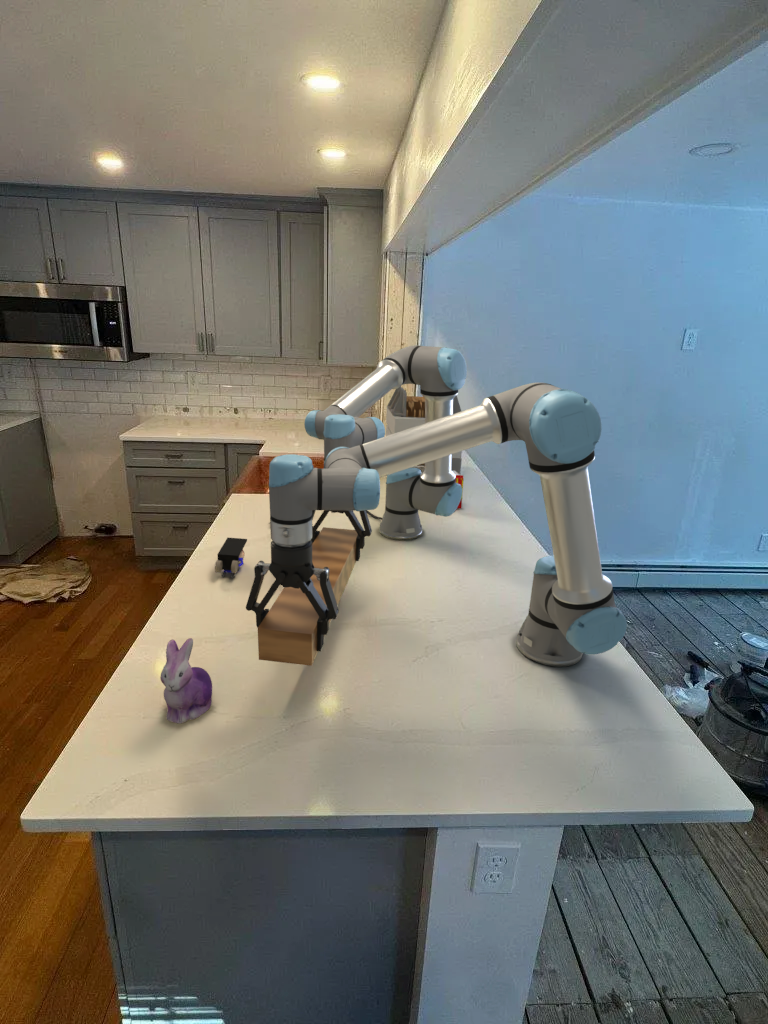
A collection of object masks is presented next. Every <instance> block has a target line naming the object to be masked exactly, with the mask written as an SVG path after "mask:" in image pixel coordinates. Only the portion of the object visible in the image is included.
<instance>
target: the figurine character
mask: <svg viewBox="0 0 768 1024" xmlns="http://www.w3.org/2000/svg"><path fill="white" fill-rule="evenodd" d="M247 542H248V538H240V537H226V539H225V541H224V543H223V544H222V546H221V547H220V549H219V551H218V552H217V560H216V562H215V564H214V572H215V573H221V577H222V578H224V577H225V576H226V574H227V573H230V574H231V573H232V574H231V578H234V577H235V575H236V573H237V572H239V571H240V567H242V566H243V565H244V564H245V562H244V558H245V551H244V547H245V546H246V544H247Z"/></svg>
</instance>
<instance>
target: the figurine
mask: <svg viewBox="0 0 768 1024" xmlns="http://www.w3.org/2000/svg"><path fill="white" fill-rule="evenodd" d="M193 646H194V639H193V638H192V637H188V639H186V640H185V641H184V643H183V644H182V645H181V646H180V648H179V646H178V643H177V642H176V640H175V639H172V638H171V640H169V641H168V642H167V644H166V649H165V657H166V658H165V659H166V661H165V664H164V666H163V668H162V670H161V672H160V676H159V679H160V682H161V683H162V684H163V685H164V686H165V688H164V689H163V699H164V701H165V704H166V707H167V710H166V711H167V712H166V716H165V717H166V720H167V721H168V722H171V723H176V724H184V723H186V722H187V721H190V720H196V719H197V718H199V717H200V716H202V715H203V714H205V713H206V712H207V711H208V710H210V709H211V706H212V700H213V699H212V696H213V682H212V678H211V676H210V674H209V673H208V671H207V670H206V669H204V668H203V667H199V666H191V664H190V658H191V655H192V650H193Z"/></svg>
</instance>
